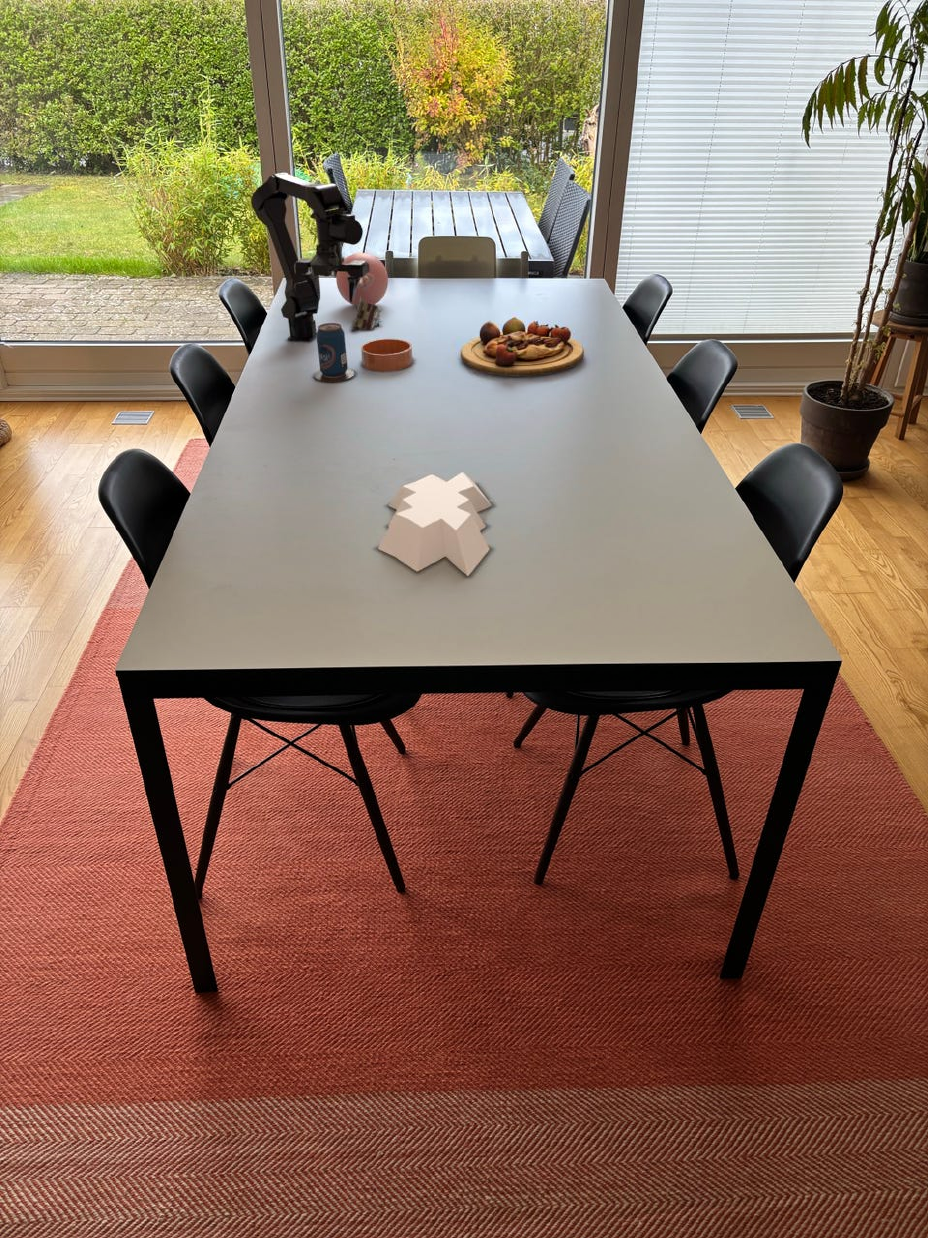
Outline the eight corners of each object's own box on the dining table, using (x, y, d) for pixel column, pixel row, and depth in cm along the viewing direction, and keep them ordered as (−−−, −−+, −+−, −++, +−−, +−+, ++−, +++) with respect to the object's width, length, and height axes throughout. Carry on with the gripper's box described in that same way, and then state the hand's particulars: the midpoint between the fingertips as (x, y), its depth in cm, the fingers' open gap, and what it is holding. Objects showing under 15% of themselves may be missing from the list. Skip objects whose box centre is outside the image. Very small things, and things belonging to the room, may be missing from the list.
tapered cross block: (393, 484, 195) (391, 458, 192) (493, 484, 194) (493, 458, 191) (371, 575, 166) (368, 547, 163) (488, 576, 165) (488, 547, 162)
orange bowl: (355, 369, 251) (354, 353, 249) (372, 352, 262) (371, 337, 259) (403, 372, 248) (402, 356, 246) (418, 356, 259) (417, 340, 256)
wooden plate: (538, 388, 237) (539, 354, 233) (435, 363, 254) (434, 331, 249) (606, 351, 258) (608, 320, 254) (507, 331, 275) (507, 301, 270)
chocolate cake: (376, 333, 276) (385, 295, 279) (351, 327, 275) (361, 288, 278) (373, 348, 286) (382, 310, 288) (349, 341, 285) (359, 304, 287)
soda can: (315, 376, 246) (309, 328, 240) (330, 367, 251) (326, 320, 245) (337, 380, 244) (333, 332, 237) (353, 371, 249) (349, 324, 242)
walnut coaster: (308, 381, 245) (308, 379, 244) (323, 367, 253) (323, 366, 252) (345, 384, 242) (345, 382, 242) (360, 370, 250) (359, 368, 250)
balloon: (334, 318, 288) (329, 264, 279) (341, 299, 305) (337, 247, 296) (386, 317, 288) (383, 263, 279) (391, 298, 304) (388, 246, 296)
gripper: (282, 244, 244) (289, 308, 253) (352, 247, 240) (357, 311, 248) (299, 234, 253) (306, 296, 262) (368, 237, 249) (372, 299, 257)
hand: (335, 301), depth 257 cm, fingers open, 9 cm apart
